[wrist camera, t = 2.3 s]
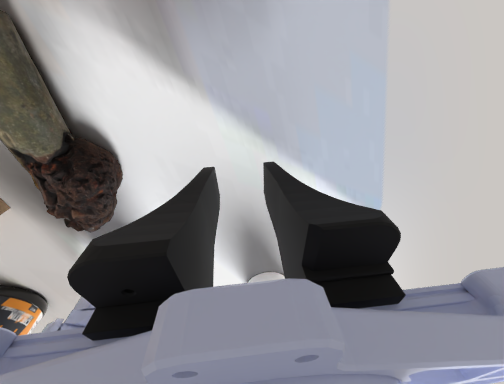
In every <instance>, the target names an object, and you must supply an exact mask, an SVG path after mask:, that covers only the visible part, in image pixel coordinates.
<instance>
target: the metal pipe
mask: <svg viewBox="0 0 504 384" xmlns="http://www.w3.org/2000/svg"><path fill="white" fill-rule="evenodd" d="M0 140H1V141H2V142H3V143H4V145H5V146H6V147H7V148H8V150H9V151H10V152H11V153H12V154H13V156H14V157H15V158H16V159H17V160H18V161H19V163H20V164H21V165H22V166H23V167H24V168H25V169H26V170H27V171H28V172H29V173H30V175H31V176H32V179H33V181H34V184H35V186H36V187H37V188H38V189H39V190H40V191H41V193H42V195H43V199H44V204H45V205H46V207H47V208H48V210H47V212H48V213H49V214H51V215H53V216H55V217H56V219H58V218H65V219H64V222H65V224H66V226H67V227H72V228H74V229H75V230H77V231H82V230H86V231H88V232H94V231H96V230H98V229H100V227H101V226H102V225H104V224H105V223H106V222H108V221H110V219H111V218H112V216H113V215H114V209H115V207H116V204H117V200H116V194H117V189H118V188H119V186H120V184H121V181H122V179H123V178H122V176H123V174H122V171H121V169H120V164H119V163H118V160H117V159H115V158H114V156H113V155H112V154H111V153H110V152H109V151H107V150H105V149H103V148H101V147H99V146H97V145H95V144H93V143H91V142H88V141H87V140H86V139H82V138H74V137H72V135H71V133H70V131H69V129H68V127H67V126H66V124H65V122H64V120H63V118H62V116H61V114H60V112H59V111H58V109H57V107H56V105H55V103H54V101H53V99H52V98H51V96H50V94H49V92H48V89H47V87H46V85H45V83H44V81H43V79H42V77H41V76H40V74H39V72H38V70H37V68H36V67H35V65H34V63H33V61H32V59H31V58H30V56H29V54H28V52H27V50H26V48H25V46H24V44H23V42H22V40H21V38H20V36H19V35H18V33H17V31H16V28H15V26H14V24H13V22H12V20H11V18H10V16H9V15H8V14H7V13H5V12H3V11H1V10H0Z"/></svg>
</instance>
